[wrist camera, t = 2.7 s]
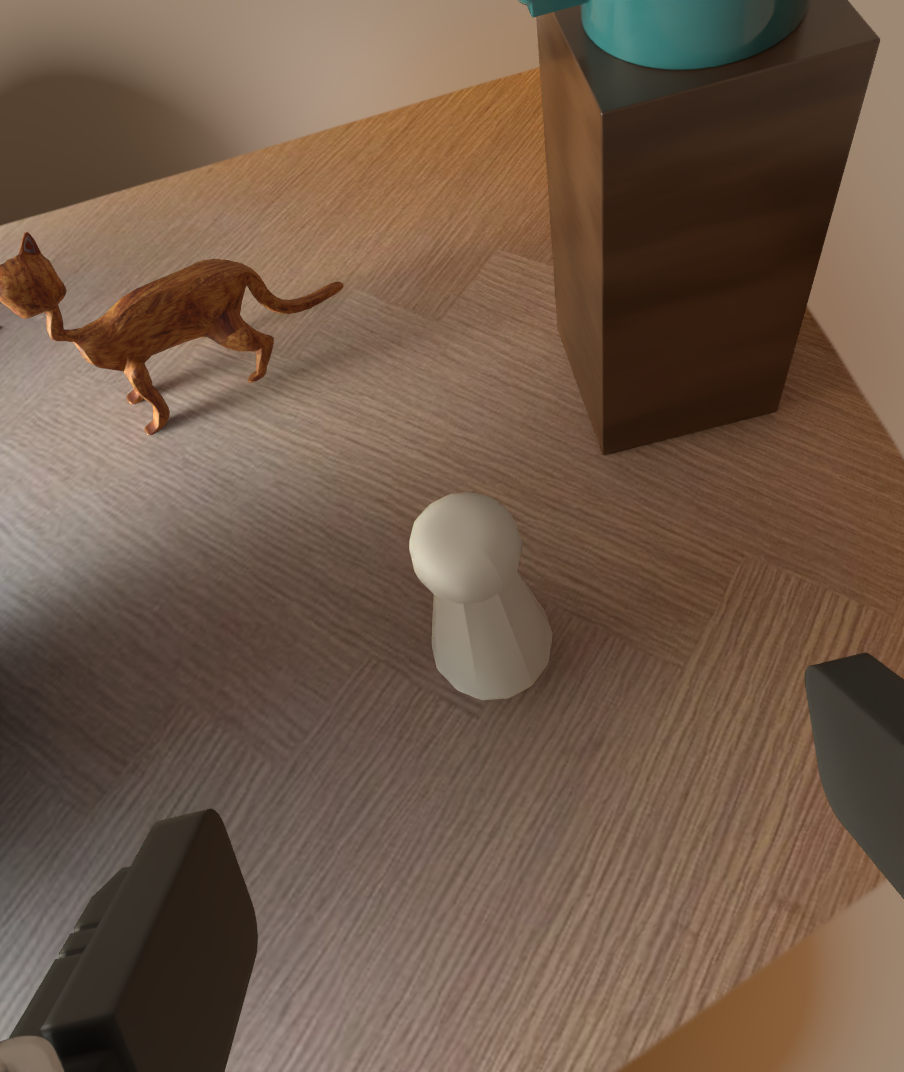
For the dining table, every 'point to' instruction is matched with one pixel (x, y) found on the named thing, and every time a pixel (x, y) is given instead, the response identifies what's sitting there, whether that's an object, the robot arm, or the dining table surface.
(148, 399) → the cat figurine
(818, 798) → the dining table surface
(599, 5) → the white-topped teal cylinder
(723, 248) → the stand
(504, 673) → the salt shaker
